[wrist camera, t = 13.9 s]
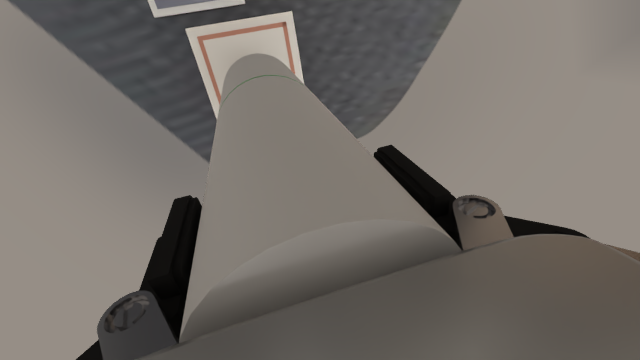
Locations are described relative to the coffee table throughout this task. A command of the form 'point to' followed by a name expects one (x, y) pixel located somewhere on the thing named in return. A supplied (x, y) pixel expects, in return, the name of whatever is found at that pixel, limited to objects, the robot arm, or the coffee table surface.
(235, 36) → the marked paper
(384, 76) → the coffee table surface
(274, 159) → the cylindrical container
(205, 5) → the ink pad
